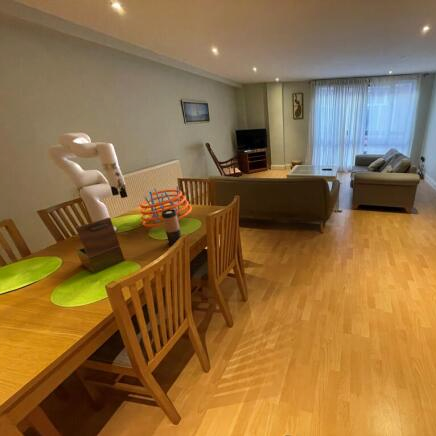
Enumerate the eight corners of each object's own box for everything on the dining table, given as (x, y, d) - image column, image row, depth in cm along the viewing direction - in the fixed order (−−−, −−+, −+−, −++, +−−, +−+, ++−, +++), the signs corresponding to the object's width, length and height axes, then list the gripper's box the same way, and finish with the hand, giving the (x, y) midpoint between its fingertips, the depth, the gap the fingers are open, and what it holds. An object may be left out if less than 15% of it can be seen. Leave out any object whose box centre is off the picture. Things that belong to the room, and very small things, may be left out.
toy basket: (161, 235, 156) (147, 201, 146) (134, 227, 175) (120, 197, 165) (203, 214, 182) (194, 184, 172) (176, 209, 200) (166, 181, 190)
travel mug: (185, 240, 147) (178, 210, 139) (176, 246, 140) (168, 214, 132) (175, 238, 149) (168, 208, 141) (165, 244, 143) (158, 213, 135)
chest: (82, 264, 124) (76, 250, 120) (111, 253, 134) (106, 239, 131) (94, 273, 117) (88, 258, 113) (124, 260, 127) (119, 245, 124)
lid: (75, 227, 108) (80, 229, 105) (109, 217, 118) (114, 219, 115) (87, 257, 113) (92, 259, 110) (119, 244, 124) (124, 247, 121)
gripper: (126, 166, 131) (134, 196, 137) (111, 164, 139) (119, 192, 146) (110, 169, 125) (120, 200, 131) (96, 166, 133) (106, 195, 140)
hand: (120, 196), depth 139 cm, fingers open, 9 cm apart
